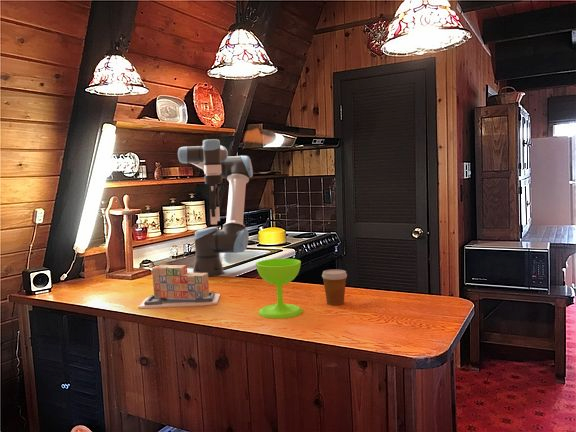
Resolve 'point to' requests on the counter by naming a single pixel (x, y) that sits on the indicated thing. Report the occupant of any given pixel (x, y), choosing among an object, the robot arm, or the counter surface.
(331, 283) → the disposable coffee cup
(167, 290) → the stack of blocks
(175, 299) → the blueprint board
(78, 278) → the counter surface
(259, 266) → the wineglass
